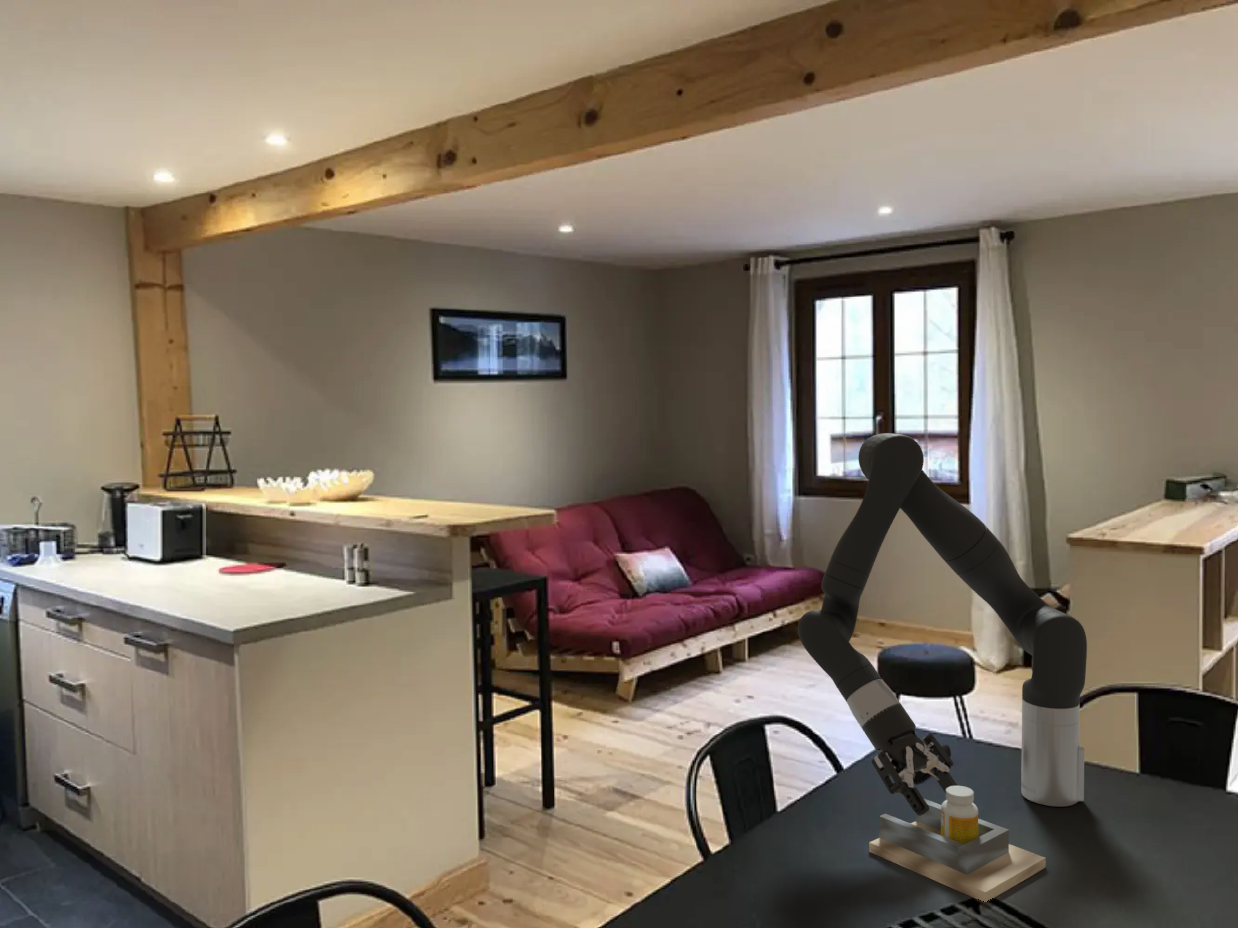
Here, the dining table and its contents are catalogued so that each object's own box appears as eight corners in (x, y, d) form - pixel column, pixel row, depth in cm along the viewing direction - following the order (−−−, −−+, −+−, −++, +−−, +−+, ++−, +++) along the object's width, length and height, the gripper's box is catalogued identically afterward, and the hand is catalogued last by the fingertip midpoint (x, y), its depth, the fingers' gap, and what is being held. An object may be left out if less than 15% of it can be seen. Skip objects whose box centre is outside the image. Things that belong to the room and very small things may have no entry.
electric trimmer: (956, 762, 190) (956, 746, 190) (918, 784, 179) (918, 767, 179) (938, 757, 193) (938, 741, 192) (899, 779, 182) (899, 762, 181)
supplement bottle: (933, 848, 150) (933, 787, 149) (959, 840, 152) (959, 780, 151) (960, 863, 145) (959, 800, 144) (986, 854, 147) (986, 793, 147)
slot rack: (869, 851, 152) (869, 820, 152) (930, 823, 162) (930, 793, 162) (985, 902, 137) (985, 868, 136) (1045, 867, 146) (1045, 835, 146)
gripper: (865, 711, 152) (928, 806, 144) (920, 693, 161) (982, 782, 153) (838, 736, 157) (898, 829, 149) (893, 717, 166) (952, 804, 157)
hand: (941, 805), depth 151 cm, fingers open, 8 cm apart
